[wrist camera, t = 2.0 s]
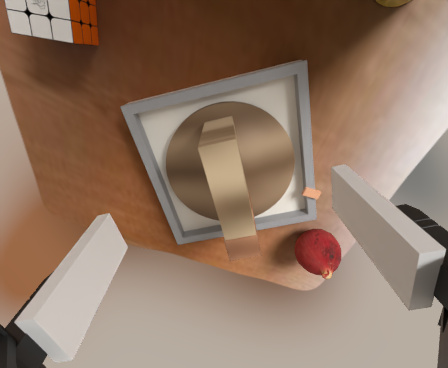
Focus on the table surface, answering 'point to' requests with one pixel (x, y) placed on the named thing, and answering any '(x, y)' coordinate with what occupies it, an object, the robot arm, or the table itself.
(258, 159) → the dial
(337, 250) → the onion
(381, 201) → the robot arm
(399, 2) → the vase
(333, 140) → the table surface
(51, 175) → the table surface
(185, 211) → the panel
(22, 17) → the rubik's cube
